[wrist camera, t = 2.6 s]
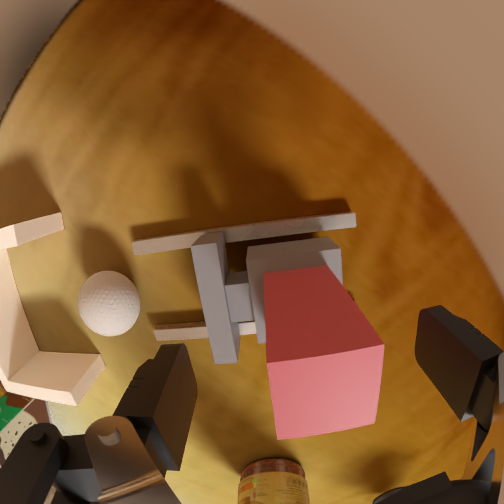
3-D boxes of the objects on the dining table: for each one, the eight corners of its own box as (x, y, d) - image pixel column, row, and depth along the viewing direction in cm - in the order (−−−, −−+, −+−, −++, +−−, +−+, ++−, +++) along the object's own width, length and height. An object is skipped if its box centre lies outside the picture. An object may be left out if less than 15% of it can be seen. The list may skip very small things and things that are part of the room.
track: (351, 211, 17) (355, 212, 16) (355, 313, 19) (358, 318, 18) (136, 239, 18) (131, 242, 17) (159, 334, 19) (156, 340, 19)
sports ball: (160, 297, 19) (139, 326, 15) (124, 329, 19) (100, 358, 16) (120, 250, 18) (89, 268, 14) (86, 286, 19) (55, 308, 15)
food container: (0, 349, 21) (-60, 400, 11) (43, 376, 21) (-15, 441, 11) (19, 424, 24) (-19, 473, 14) (58, 447, 24) (23, 503, 14)
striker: (326, 218, 16) (412, 277, 6) (332, 324, 18) (387, 448, 8) (201, 234, 17) (129, 311, 7) (221, 337, 18) (191, 471, 8)
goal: (61, 212, 17) (13, 224, 13) (105, 366, 20) (77, 406, 15) (-6, 231, 18) (-48, 245, 13) (36, 361, 21) (6, 391, 16)
